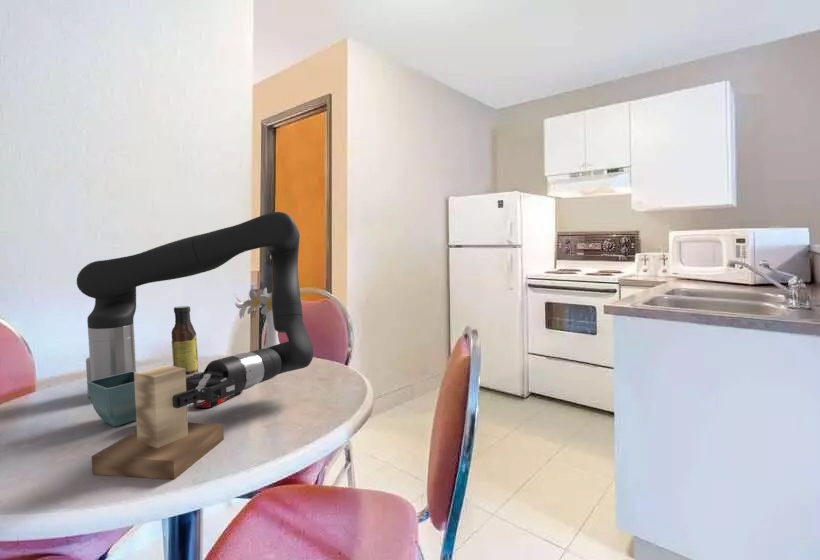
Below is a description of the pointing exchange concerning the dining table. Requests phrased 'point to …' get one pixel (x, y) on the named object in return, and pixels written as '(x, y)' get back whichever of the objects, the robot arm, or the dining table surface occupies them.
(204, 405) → the race car
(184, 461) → the walnut slab
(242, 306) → the flower vase
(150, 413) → the oak pillar
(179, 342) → the sauce bottle
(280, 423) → the dining table surface
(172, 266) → the robot arm
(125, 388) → the flower pot
